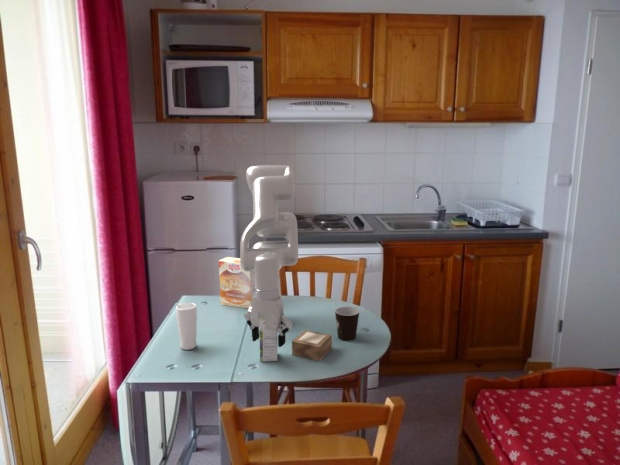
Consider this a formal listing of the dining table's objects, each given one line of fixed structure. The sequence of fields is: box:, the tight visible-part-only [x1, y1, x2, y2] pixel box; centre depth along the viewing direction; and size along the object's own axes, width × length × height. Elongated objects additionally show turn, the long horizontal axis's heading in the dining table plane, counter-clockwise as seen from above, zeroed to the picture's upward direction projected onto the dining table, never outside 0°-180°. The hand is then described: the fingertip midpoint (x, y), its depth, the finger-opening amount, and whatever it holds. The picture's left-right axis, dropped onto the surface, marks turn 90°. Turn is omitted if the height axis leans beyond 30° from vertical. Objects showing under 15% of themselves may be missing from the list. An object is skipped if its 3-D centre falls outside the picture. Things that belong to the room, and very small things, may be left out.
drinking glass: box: [175, 302, 198, 351], centre depth 168 cm, size 7×7×15 cm
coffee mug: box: [334, 306, 360, 342], centre depth 177 cm, size 12×9×10 cm
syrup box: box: [259, 319, 278, 363], centre depth 160 cm, size 6×6×14 cm
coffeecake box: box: [218, 256, 255, 310], centre depth 207 cm, size 15×7×20 cm, turn 68°
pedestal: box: [291, 329, 333, 362], centre depth 165 cm, size 10×10×5 cm
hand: (268, 342), depth 160 cm, fingers open, 9 cm apart
